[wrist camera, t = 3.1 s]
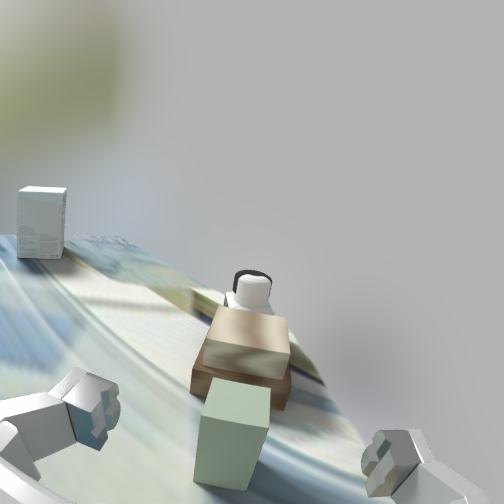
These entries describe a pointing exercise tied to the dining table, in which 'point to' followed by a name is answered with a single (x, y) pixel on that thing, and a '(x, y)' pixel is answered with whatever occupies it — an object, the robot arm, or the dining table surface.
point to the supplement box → (41, 222)
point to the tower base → (239, 381)
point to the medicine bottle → (250, 292)
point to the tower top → (248, 343)
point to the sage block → (231, 433)
